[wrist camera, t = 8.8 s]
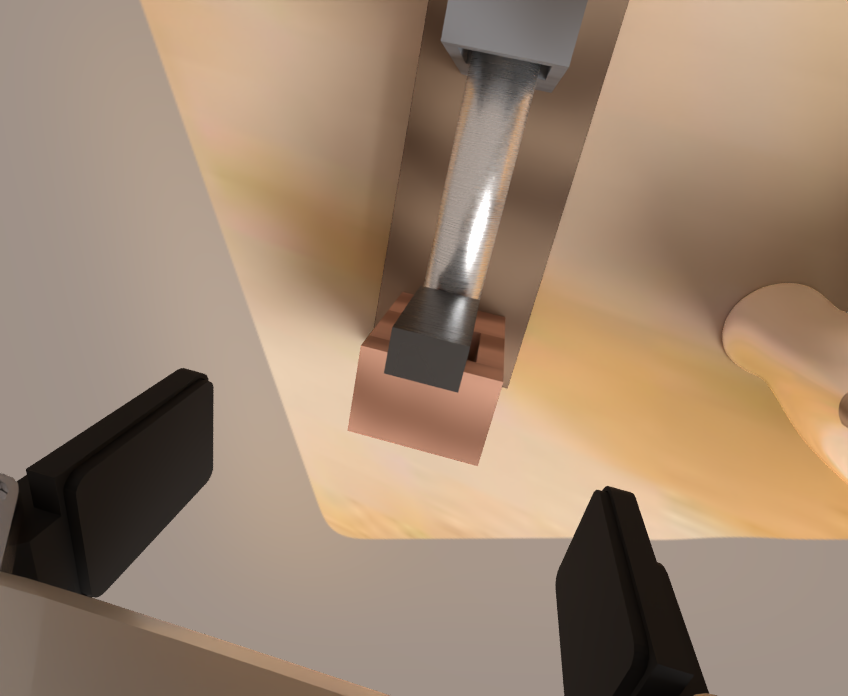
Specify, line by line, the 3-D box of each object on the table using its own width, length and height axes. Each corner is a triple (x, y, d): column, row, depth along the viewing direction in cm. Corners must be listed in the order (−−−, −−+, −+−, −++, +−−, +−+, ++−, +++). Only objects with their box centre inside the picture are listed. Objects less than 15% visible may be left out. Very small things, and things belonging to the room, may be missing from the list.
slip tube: (490, -15, 20) (476, -127, 12) (558, -2, 20) (590, -107, 12) (409, 366, 28) (368, 454, 20) (458, 379, 28) (436, 473, 20)
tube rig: (457, -133, 24) (417, -341, 14) (655, -99, 23) (767, -292, 13) (375, 345, 35) (320, 423, 25) (507, 378, 34) (506, 473, 24)
